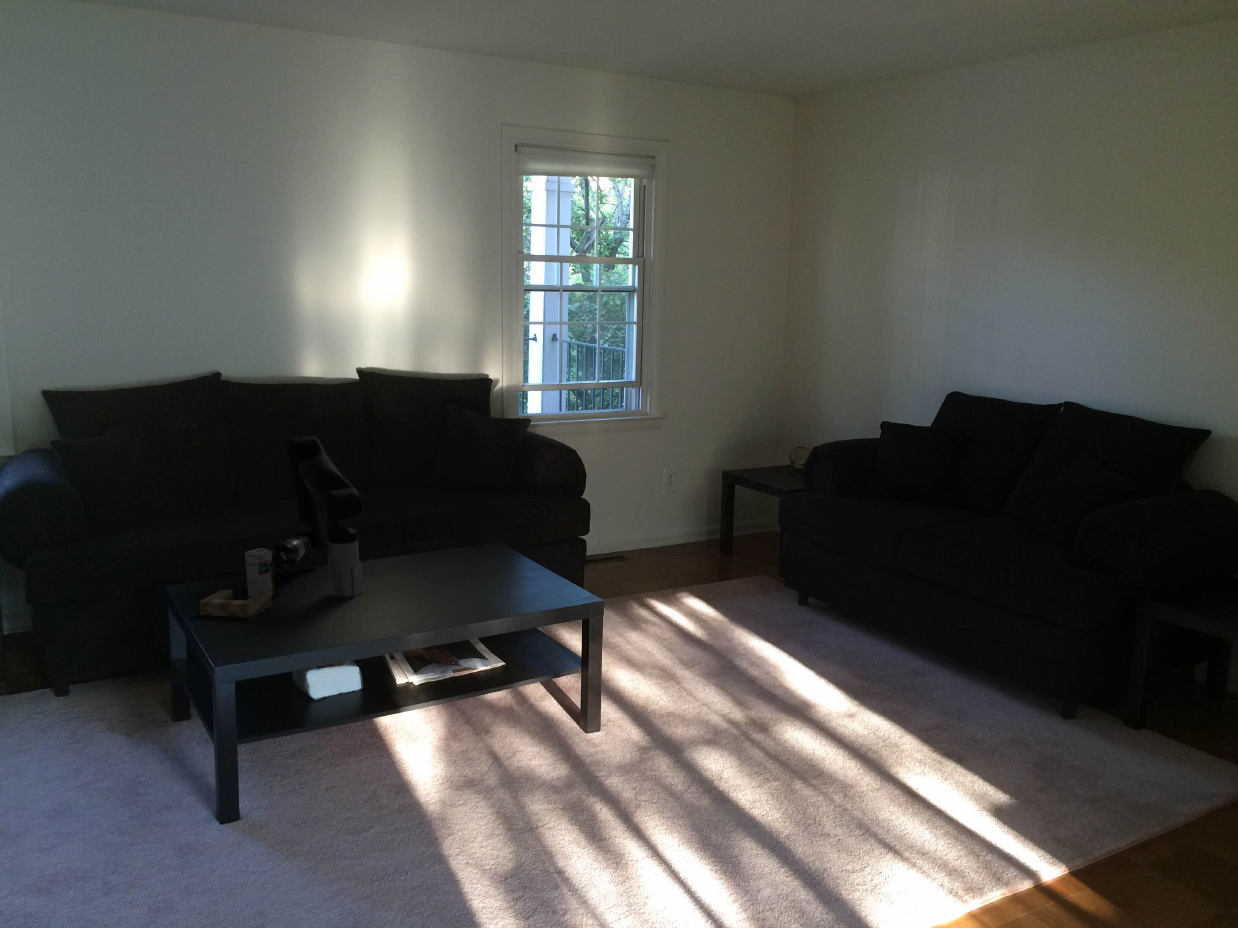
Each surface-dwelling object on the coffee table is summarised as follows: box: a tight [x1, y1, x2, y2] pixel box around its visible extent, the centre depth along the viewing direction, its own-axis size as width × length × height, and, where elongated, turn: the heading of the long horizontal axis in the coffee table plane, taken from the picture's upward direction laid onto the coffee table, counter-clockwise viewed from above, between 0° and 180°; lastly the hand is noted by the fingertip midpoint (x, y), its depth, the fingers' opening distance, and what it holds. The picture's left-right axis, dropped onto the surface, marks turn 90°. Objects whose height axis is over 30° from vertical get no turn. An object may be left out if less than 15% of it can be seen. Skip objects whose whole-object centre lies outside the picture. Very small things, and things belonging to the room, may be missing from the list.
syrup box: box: [244, 547, 275, 598], centre depth 306 cm, size 6×6×14 cm
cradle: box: [199, 589, 273, 619], centre depth 293 cm, size 16×12×4 cm
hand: (264, 564), depth 309 cm, fingers open, 8 cm apart
